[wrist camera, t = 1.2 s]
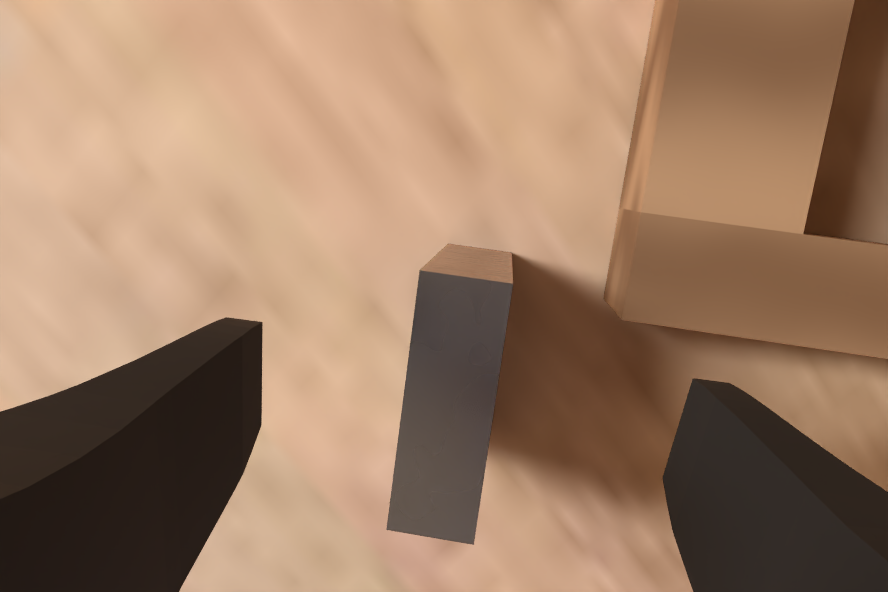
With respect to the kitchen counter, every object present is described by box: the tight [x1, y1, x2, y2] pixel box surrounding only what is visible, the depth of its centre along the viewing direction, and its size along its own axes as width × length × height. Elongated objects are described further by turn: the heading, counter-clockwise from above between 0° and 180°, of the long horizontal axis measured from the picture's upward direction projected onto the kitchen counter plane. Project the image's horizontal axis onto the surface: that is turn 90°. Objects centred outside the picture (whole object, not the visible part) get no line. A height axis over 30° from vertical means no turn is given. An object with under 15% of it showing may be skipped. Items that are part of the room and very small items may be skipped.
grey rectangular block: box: [387, 244, 513, 545], centre depth 19 cm, size 6×2×7 cm, turn 172°
